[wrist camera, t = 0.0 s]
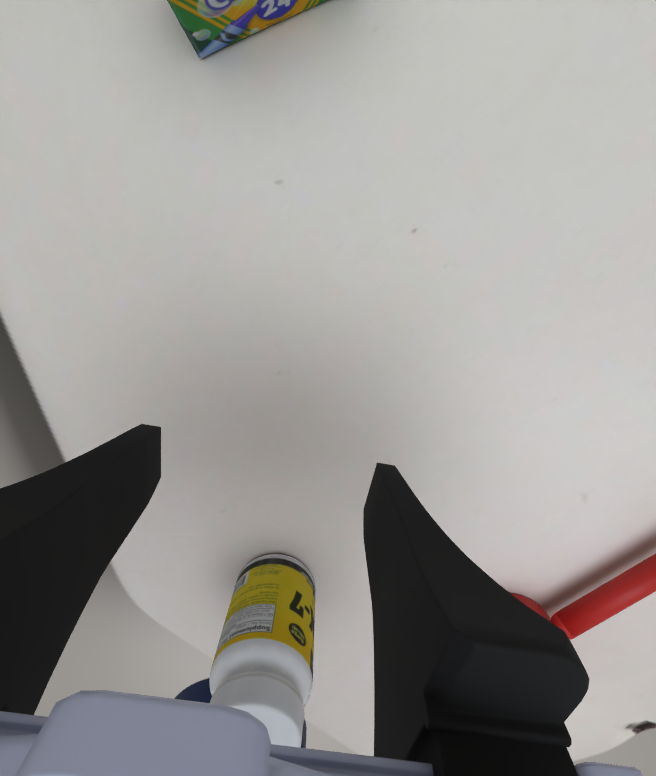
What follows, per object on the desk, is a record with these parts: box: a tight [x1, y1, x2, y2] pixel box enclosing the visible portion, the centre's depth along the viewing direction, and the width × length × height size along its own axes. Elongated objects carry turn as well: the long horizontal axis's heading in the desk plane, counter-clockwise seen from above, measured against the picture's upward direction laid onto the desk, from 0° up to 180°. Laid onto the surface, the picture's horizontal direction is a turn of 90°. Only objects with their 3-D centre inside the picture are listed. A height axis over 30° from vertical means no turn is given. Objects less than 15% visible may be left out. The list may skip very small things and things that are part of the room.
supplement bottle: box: [209, 554, 315, 748], centre depth 20 cm, size 5×5×8 cm
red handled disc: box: [510, 554, 656, 639], centre depth 23 cm, size 16×7×3 cm, turn 129°
